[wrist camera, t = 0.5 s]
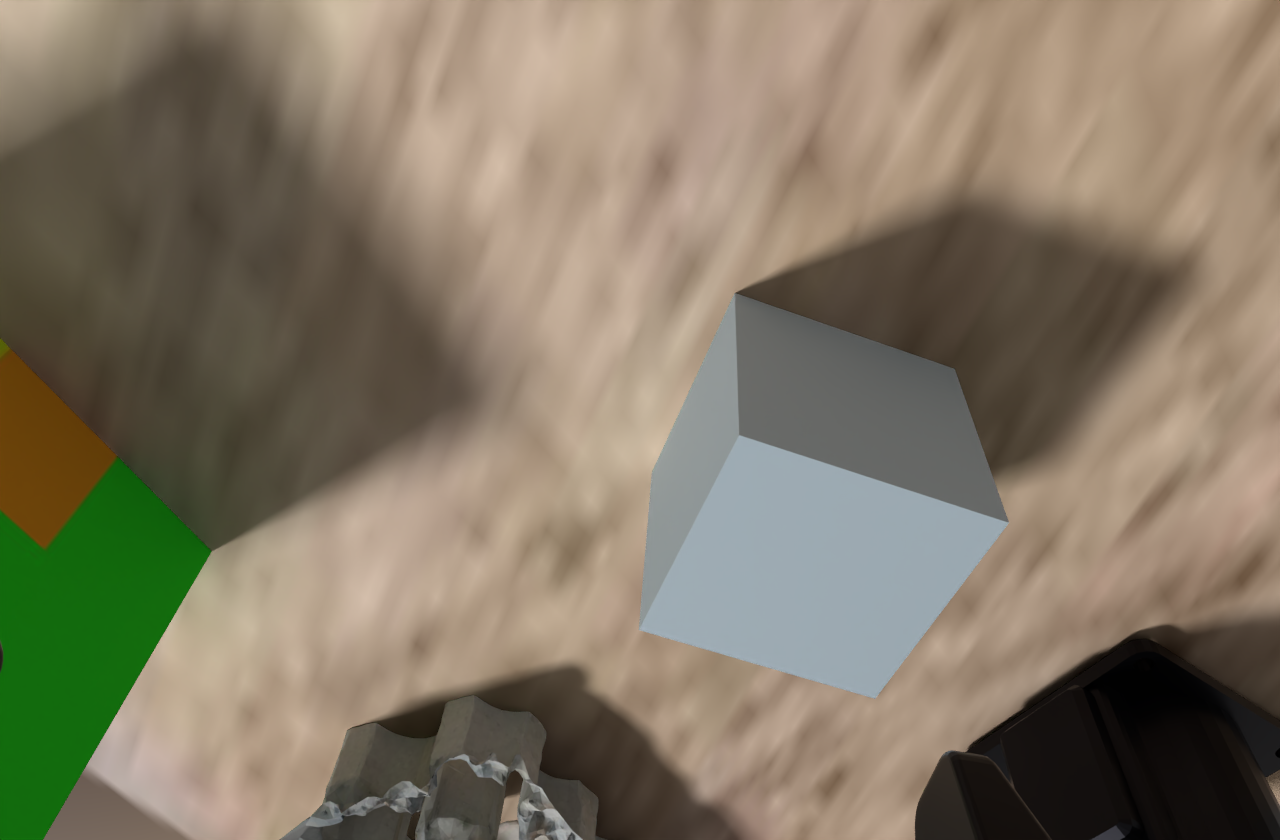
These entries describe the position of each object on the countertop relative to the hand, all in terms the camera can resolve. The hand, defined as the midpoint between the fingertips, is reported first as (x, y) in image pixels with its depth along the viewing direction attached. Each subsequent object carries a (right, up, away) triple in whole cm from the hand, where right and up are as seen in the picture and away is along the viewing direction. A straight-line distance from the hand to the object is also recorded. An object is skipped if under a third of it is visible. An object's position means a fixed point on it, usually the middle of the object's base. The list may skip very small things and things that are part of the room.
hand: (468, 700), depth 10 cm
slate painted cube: (+5, +3, +13) cm, 14 cm away
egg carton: (-3, -9, +23) cm, 25 cm away
